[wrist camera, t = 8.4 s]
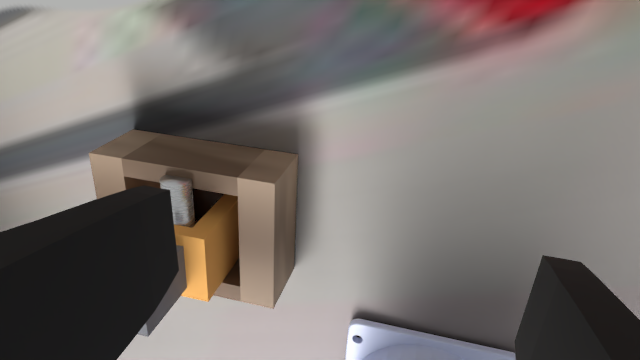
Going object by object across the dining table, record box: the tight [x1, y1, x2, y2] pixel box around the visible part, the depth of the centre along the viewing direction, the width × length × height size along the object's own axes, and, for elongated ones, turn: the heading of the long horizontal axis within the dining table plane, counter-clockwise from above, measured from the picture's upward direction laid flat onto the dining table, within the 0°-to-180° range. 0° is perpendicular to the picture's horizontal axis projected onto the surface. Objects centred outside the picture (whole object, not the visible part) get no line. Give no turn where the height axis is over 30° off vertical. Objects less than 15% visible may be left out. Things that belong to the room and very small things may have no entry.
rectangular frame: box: [89, 129, 298, 308], centre depth 21 cm, size 6×8×4 cm
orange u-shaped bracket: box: [137, 194, 239, 337], centre depth 19 cm, size 3×3×7 cm
